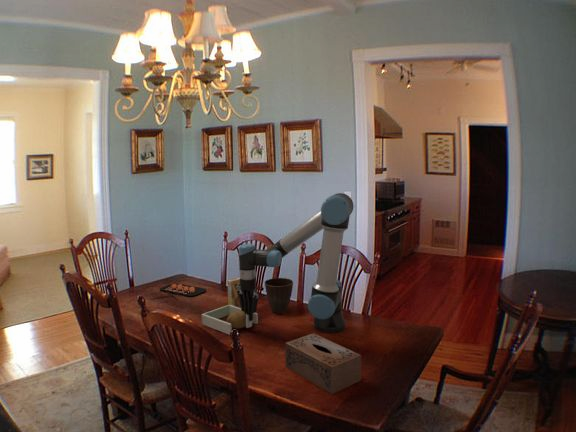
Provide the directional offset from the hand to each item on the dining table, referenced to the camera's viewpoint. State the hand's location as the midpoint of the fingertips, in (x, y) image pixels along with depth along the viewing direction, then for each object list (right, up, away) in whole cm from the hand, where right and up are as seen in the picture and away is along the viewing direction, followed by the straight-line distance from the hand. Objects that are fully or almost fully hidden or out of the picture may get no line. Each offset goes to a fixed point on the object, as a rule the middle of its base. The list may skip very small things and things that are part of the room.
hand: (249, 326), depth 206 cm
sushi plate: (-50, +4, +57) cm, 76 cm away
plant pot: (+14, +1, +25) cm, 29 cm away
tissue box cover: (+31, -8, -41) cm, 52 cm away
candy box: (-9, +2, +34) cm, 35 cm away
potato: (-4, -2, +5) cm, 7 cm away
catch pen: (-10, -1, +9) cm, 14 cm away
